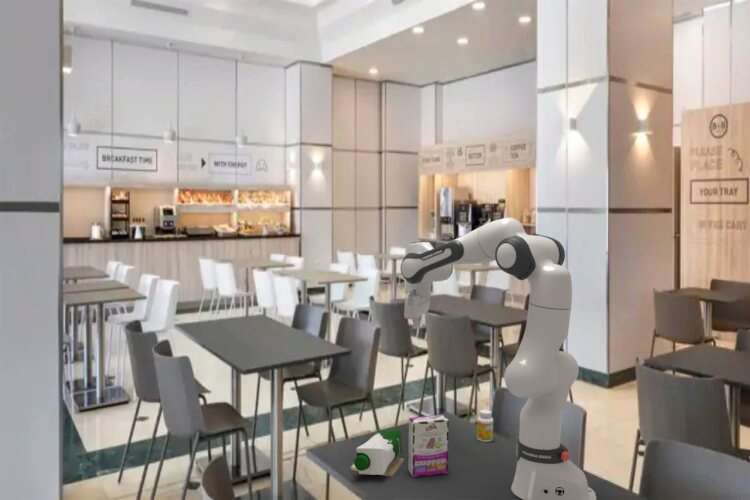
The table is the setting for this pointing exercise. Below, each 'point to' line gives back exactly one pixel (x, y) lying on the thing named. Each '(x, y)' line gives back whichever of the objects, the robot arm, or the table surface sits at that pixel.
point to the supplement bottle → (485, 426)
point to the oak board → (390, 469)
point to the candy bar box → (428, 445)
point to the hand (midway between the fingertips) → (416, 328)
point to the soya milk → (378, 452)
